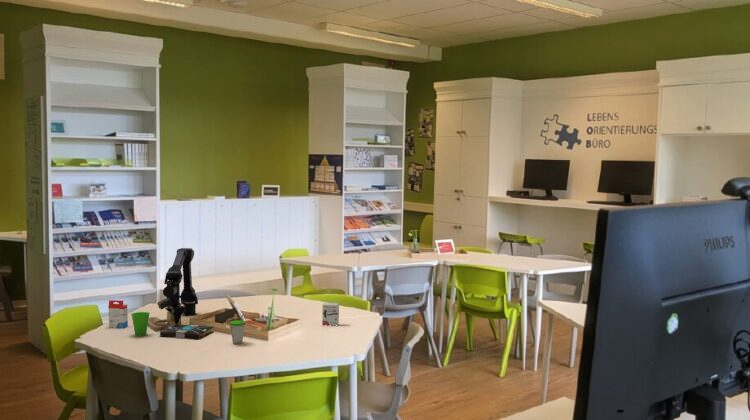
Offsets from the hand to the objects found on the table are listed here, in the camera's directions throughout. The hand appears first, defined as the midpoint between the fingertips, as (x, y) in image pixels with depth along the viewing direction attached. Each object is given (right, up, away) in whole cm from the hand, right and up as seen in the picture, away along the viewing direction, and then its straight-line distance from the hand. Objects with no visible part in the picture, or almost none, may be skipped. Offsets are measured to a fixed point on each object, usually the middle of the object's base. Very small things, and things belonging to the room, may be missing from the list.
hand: (174, 322), depth 353 cm
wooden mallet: (-3, -2, -2) cm, 4 cm away
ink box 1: (-29, -2, -2) cm, 29 cm away
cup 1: (-11, -3, -19) cm, 22 cm away
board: (-10, -2, +2) cm, 11 cm away
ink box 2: (+83, -3, +9) cm, 83 cm away
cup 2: (+40, -5, -31) cm, 51 cm away
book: (+12, -4, -16) cm, 20 cm away
